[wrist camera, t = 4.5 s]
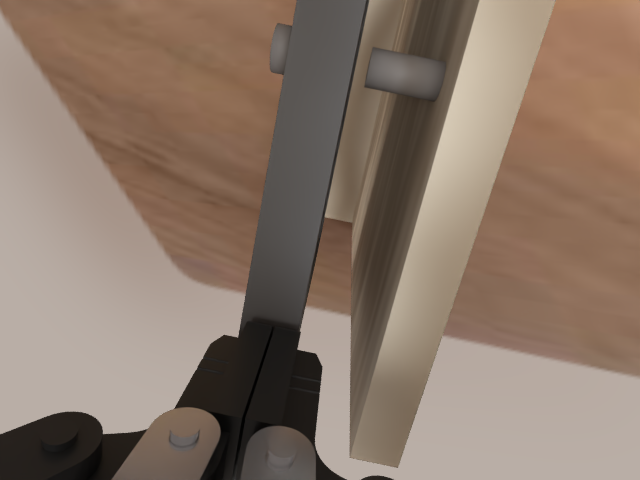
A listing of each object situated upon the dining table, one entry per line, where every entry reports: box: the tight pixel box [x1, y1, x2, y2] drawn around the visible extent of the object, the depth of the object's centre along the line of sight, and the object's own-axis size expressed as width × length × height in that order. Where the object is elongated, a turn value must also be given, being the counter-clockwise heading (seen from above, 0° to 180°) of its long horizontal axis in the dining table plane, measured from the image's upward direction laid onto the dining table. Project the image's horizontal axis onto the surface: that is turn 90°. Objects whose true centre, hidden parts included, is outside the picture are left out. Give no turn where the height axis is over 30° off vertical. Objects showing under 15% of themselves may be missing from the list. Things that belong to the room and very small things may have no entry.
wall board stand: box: [325, 0, 556, 468], centre depth 22 cm, size 12×22×26 cm, turn 169°
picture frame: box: [238, 0, 369, 338], centre depth 17 cm, size 2×18×14 cm, turn 169°
